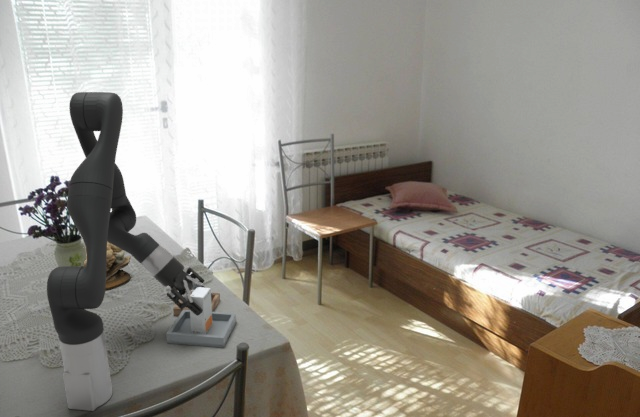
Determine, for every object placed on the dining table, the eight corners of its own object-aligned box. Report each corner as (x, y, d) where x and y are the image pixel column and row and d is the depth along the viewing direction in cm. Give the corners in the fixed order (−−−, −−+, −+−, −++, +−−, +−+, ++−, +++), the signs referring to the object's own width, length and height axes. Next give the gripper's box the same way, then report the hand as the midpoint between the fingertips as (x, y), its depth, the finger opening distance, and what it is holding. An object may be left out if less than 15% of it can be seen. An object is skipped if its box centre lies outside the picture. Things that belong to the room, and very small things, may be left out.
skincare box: (205, 336, 146) (202, 298, 142) (190, 334, 146) (188, 296, 142) (213, 324, 151) (211, 287, 147) (199, 323, 152) (196, 286, 148)
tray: (223, 347, 142) (223, 338, 141) (167, 343, 144) (166, 333, 143) (236, 322, 154) (235, 313, 153) (183, 318, 156) (183, 309, 155)
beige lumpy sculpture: (126, 269, 186) (121, 225, 181) (138, 282, 178) (134, 236, 172) (72, 283, 176) (66, 236, 170) (83, 297, 167) (76, 248, 161)
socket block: (209, 318, 156) (208, 311, 155) (173, 315, 157) (173, 308, 156) (220, 300, 166) (219, 293, 166) (186, 298, 167) (186, 291, 167)
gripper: (160, 268, 135) (206, 310, 138) (180, 247, 149) (221, 285, 151) (143, 285, 138) (188, 326, 140) (164, 262, 151) (205, 300, 154)
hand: (205, 305), depth 146 cm, fingers open, 8 cm apart
